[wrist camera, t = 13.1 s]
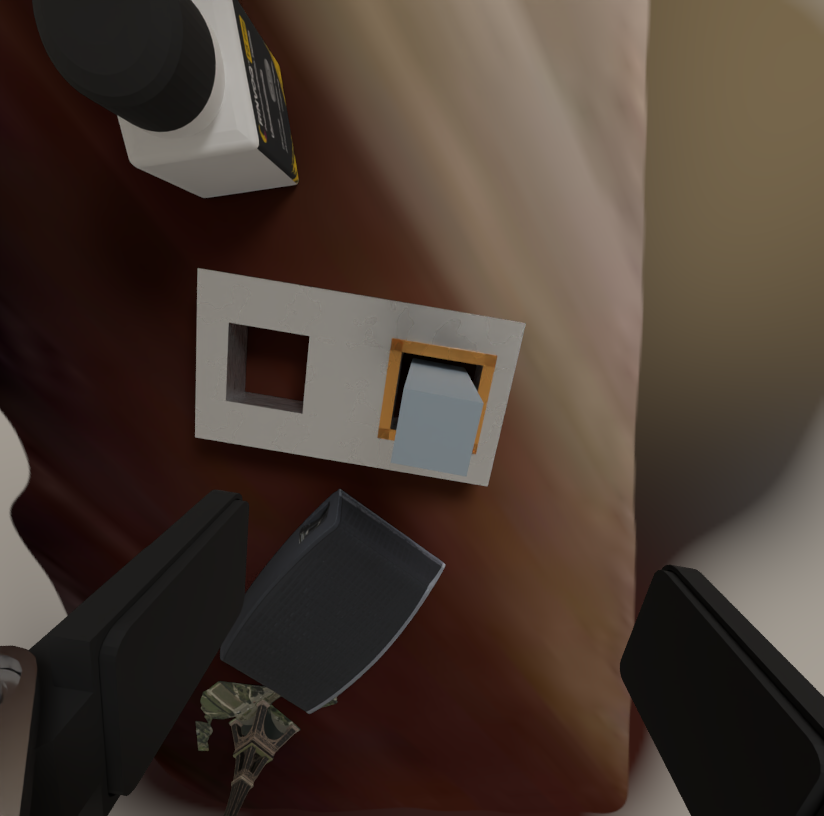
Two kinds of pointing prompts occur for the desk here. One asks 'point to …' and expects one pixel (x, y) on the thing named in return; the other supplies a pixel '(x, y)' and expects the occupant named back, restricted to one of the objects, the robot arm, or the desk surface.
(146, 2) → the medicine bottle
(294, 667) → the external hard drive
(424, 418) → the peg
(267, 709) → the eiffel tower figurine
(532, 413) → the desk surface
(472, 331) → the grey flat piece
